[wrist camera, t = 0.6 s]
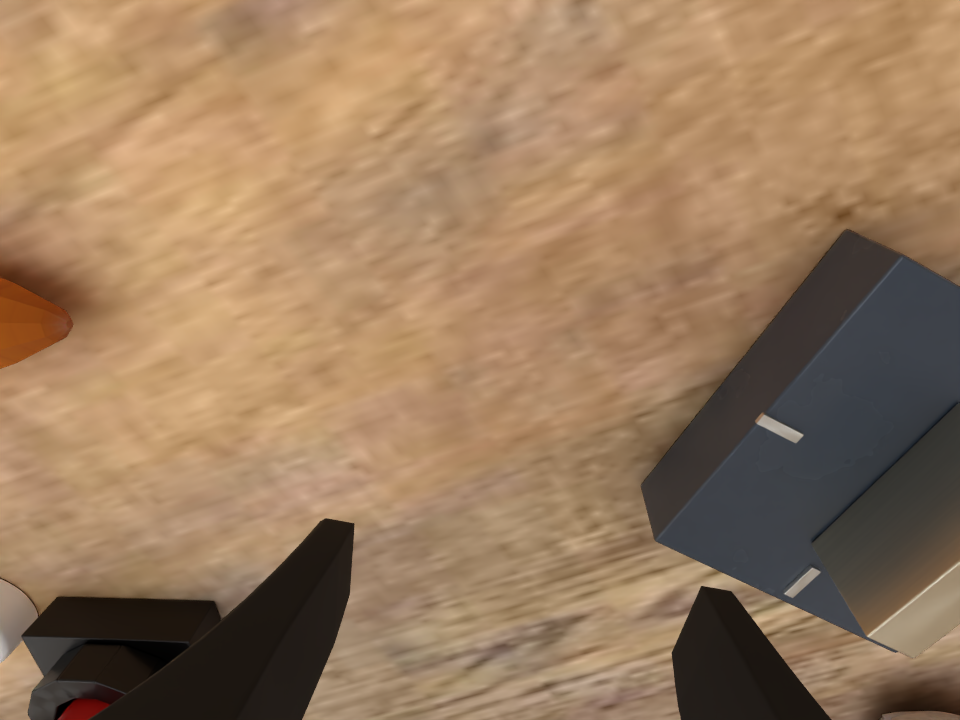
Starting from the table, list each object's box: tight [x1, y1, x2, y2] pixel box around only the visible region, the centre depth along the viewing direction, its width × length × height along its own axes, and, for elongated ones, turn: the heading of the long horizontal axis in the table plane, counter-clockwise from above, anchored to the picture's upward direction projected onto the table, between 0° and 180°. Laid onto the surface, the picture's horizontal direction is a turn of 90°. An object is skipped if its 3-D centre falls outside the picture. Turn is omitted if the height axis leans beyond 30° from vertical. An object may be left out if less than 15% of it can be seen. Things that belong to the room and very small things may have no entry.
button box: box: [21, 597, 221, 720], centre depth 27 cm, size 10×8×4 cm
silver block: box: [812, 403, 960, 658], centre depth 16 cm, size 6×2×4 cm, turn 154°
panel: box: [641, 229, 960, 653], centre depth 19 cm, size 11×10×3 cm
